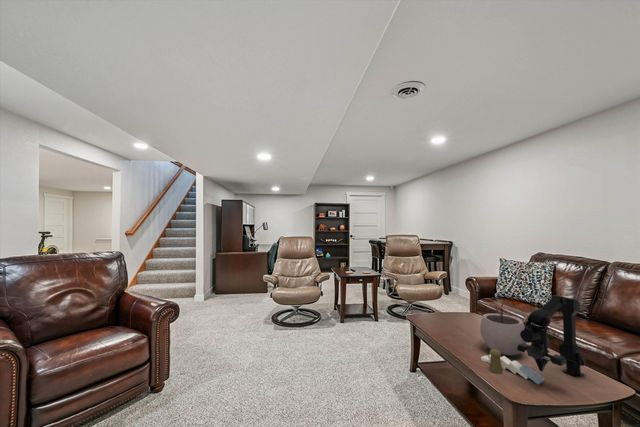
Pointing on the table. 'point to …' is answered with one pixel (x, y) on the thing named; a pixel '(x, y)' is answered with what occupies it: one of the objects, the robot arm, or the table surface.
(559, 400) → the table surface
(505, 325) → the plant pot
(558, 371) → the table surface
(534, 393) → the table surface
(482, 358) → the domino
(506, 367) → the domino
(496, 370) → the olive green pawn
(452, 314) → the table surface
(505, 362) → the domino
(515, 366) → the domino
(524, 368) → the domino
